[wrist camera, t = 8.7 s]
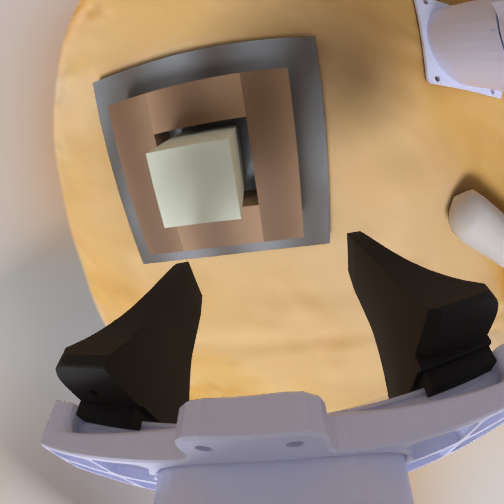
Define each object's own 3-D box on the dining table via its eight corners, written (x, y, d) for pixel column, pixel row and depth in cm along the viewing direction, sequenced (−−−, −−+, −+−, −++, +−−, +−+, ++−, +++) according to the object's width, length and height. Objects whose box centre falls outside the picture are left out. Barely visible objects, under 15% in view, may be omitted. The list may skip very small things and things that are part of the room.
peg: (237, 122, 18) (228, 138, 12) (245, 177, 20) (240, 218, 14) (180, 132, 18) (145, 153, 12) (191, 184, 20) (164, 228, 14)
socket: (311, 39, 15) (324, 27, 12) (327, 237, 24) (338, 263, 20) (99, 82, 17) (71, 84, 13) (147, 257, 25) (132, 284, 21)
